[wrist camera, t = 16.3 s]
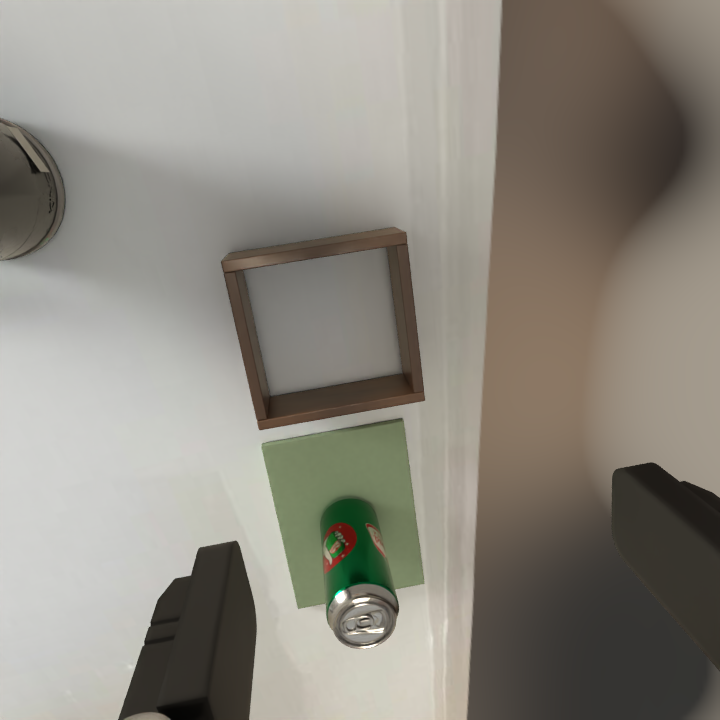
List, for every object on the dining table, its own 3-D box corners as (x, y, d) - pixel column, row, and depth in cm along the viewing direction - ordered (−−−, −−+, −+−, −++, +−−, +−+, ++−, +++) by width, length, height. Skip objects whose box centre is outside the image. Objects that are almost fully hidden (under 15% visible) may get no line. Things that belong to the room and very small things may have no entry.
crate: (262, 407, 44) (258, 430, 40) (228, 253, 40) (220, 261, 36) (413, 380, 45) (425, 401, 41) (394, 226, 41) (406, 231, 37)
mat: (297, 604, 51) (298, 609, 50) (261, 443, 45) (261, 446, 45) (423, 579, 51) (424, 583, 51) (402, 418, 46) (403, 421, 45)
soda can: (379, 538, 49) (405, 646, 37) (324, 548, 48) (332, 660, 37) (373, 490, 47) (397, 587, 36) (315, 499, 47) (322, 601, 35)
